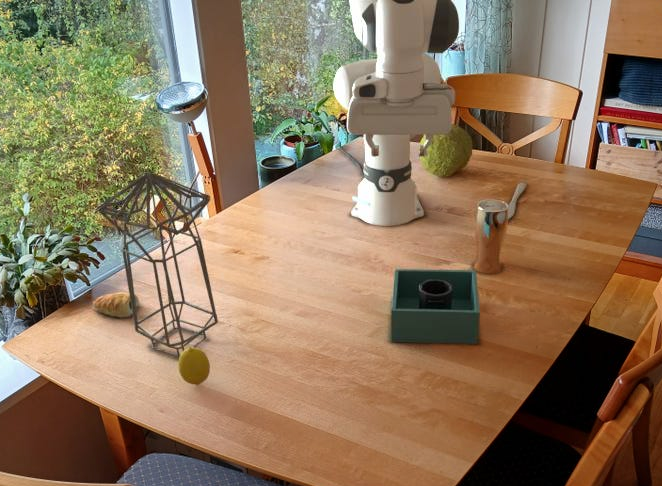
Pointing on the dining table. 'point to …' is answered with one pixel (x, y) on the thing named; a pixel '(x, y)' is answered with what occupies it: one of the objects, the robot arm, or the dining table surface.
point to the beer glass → (490, 234)
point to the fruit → (447, 152)
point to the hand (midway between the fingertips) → (398, 155)
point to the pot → (435, 295)
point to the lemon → (194, 365)
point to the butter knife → (515, 199)
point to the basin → (430, 322)
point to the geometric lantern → (162, 184)
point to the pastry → (115, 304)
